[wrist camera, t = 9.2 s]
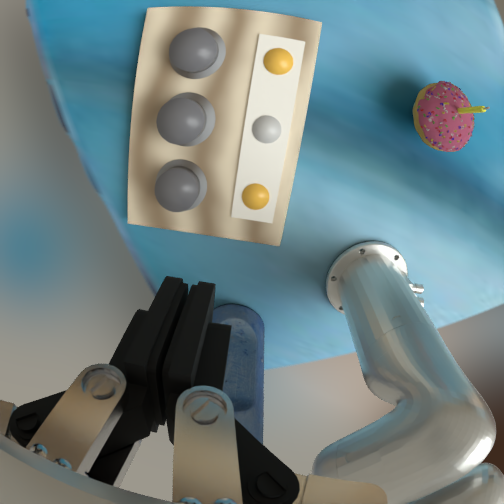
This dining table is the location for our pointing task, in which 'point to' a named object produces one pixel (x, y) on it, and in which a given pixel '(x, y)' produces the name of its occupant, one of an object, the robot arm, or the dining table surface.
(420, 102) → the cupcake
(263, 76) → the pattern card
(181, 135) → the button middle
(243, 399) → the bottle
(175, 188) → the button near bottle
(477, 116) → the dining table surface
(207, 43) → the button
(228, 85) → the button board
